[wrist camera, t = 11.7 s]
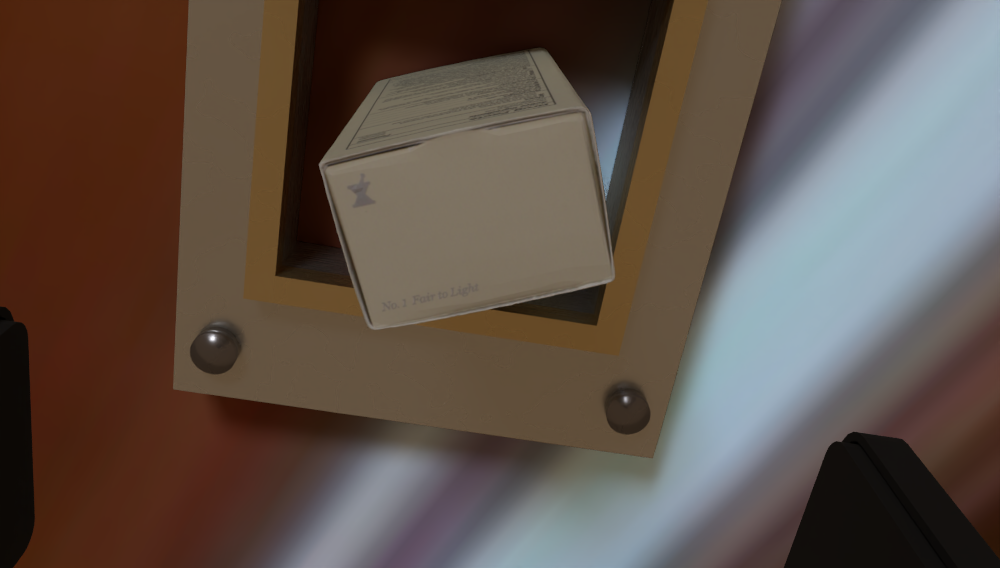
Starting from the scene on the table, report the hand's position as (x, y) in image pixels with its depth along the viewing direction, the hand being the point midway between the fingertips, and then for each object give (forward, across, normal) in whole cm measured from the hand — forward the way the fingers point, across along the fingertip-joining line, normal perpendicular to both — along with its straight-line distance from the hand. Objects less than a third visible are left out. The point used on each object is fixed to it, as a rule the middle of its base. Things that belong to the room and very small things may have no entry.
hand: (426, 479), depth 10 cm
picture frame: (+22, 0, 0) cm, 22 cm away
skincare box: (+22, 0, 0) cm, 23 cm away
